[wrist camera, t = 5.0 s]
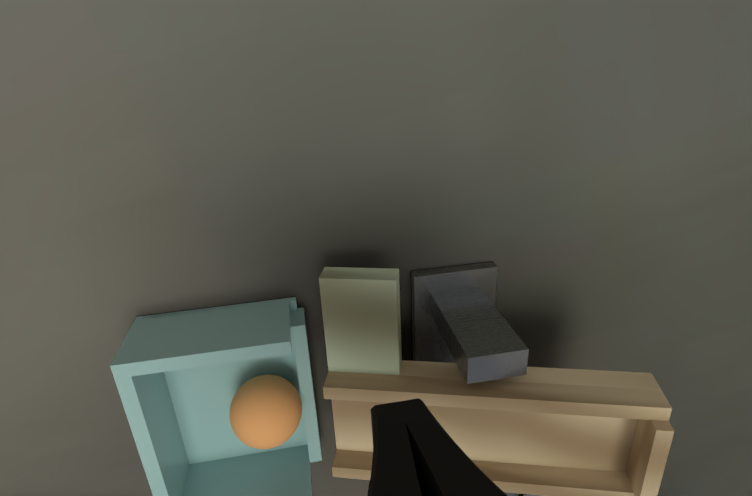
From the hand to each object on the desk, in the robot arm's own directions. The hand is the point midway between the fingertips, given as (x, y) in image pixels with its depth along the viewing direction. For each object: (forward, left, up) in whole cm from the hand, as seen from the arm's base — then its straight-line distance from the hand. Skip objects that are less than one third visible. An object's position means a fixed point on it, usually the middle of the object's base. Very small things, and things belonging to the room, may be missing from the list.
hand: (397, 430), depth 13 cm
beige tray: (-4, -5, -6) cm, 8 cm away
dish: (-6, +6, -10) cm, 13 cm away
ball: (-6, +5, -8) cm, 11 cm away
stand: (-6, -5, -10) cm, 12 cm away
